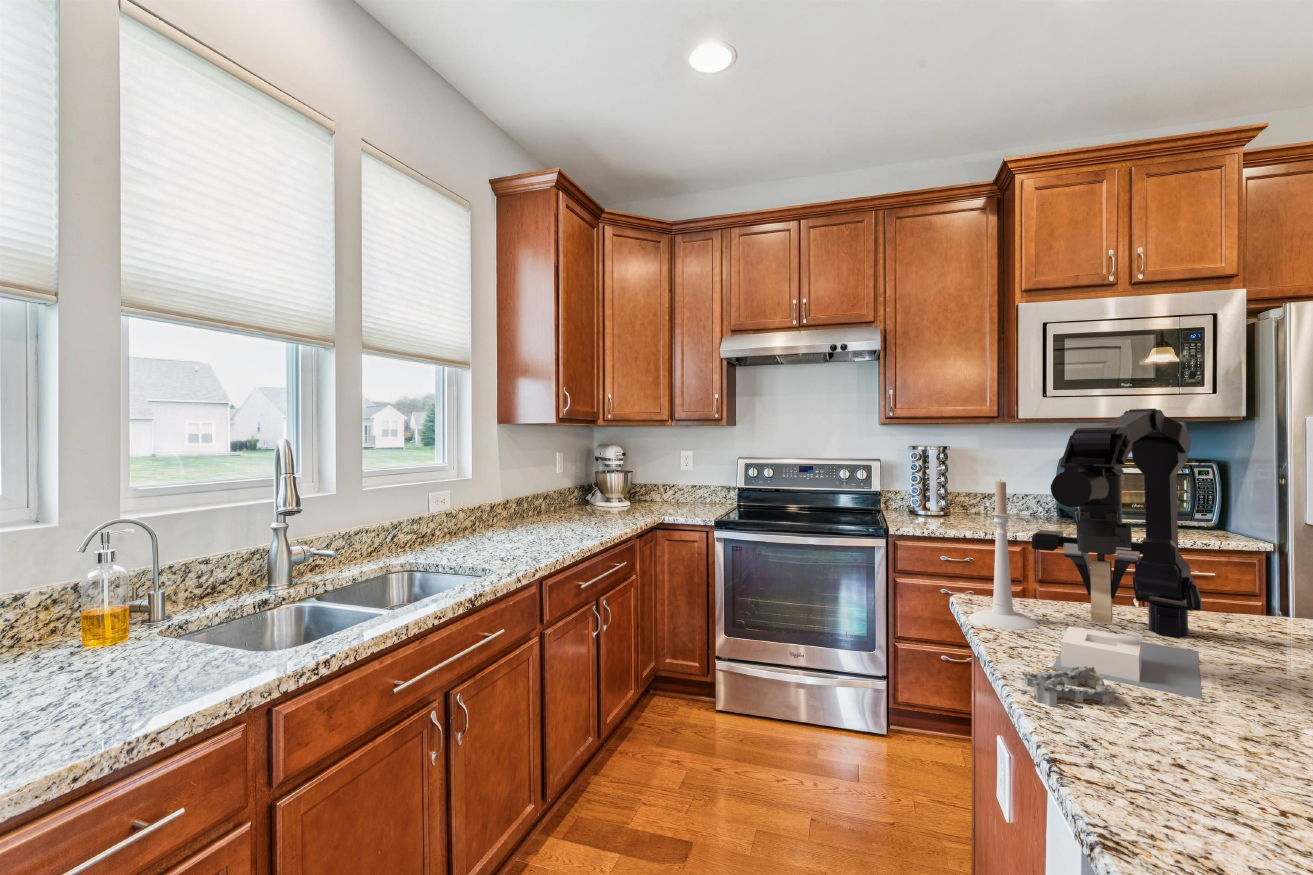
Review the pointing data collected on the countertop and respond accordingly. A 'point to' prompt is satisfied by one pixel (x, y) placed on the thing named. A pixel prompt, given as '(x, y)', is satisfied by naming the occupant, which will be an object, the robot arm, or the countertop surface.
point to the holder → (1102, 652)
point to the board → (1162, 670)
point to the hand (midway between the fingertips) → (1101, 596)
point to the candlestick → (1001, 577)
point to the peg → (1101, 589)
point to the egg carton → (1072, 678)
